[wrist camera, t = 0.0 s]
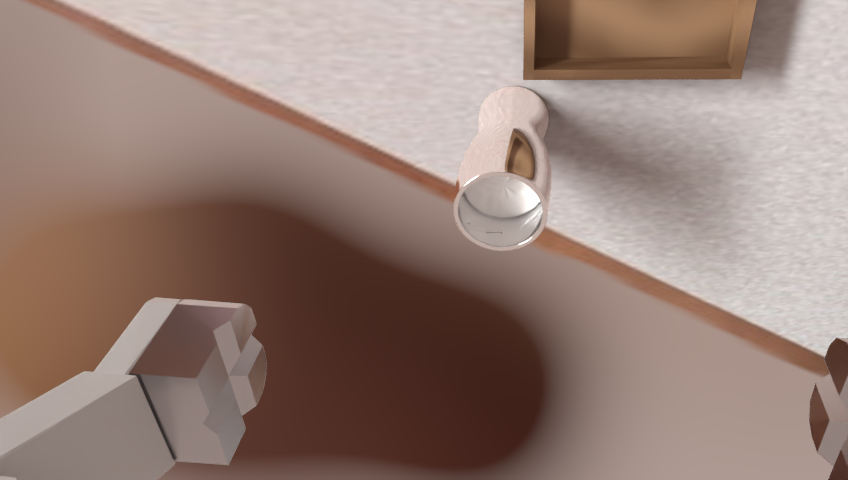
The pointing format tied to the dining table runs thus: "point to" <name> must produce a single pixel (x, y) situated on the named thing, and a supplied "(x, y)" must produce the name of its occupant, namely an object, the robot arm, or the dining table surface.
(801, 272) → the dining table surface
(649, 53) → the walnut tray
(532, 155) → the beer glass
